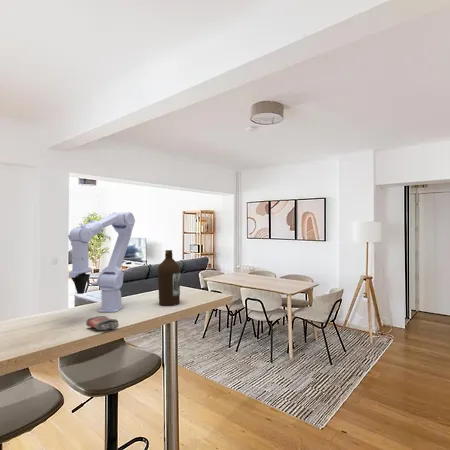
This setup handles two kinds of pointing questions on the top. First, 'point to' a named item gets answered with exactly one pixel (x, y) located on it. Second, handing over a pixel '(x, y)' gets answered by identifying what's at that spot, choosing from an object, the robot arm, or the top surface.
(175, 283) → the olive oil
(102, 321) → the lighter
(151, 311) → the top surface
